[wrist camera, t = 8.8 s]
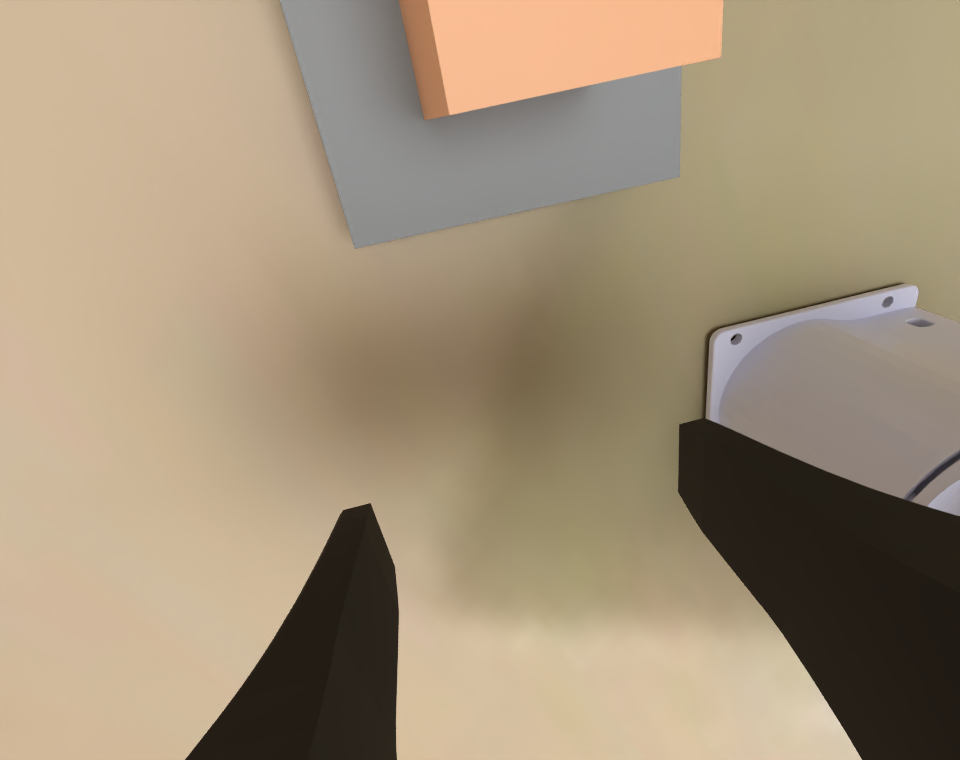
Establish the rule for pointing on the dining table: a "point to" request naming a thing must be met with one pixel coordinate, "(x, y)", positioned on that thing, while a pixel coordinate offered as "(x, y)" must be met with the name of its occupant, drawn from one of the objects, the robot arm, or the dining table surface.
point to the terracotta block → (547, 45)
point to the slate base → (465, 131)
